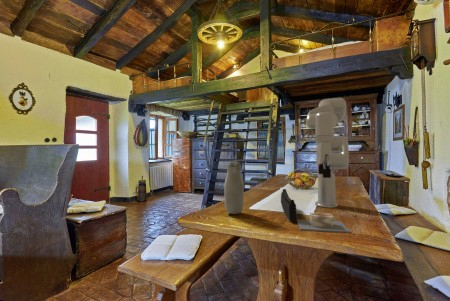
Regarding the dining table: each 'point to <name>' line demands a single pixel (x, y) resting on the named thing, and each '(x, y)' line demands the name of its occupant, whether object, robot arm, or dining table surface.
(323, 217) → the card box
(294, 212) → the magazine
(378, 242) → the dining table surface
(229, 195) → the glass bottle
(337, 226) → the mat
